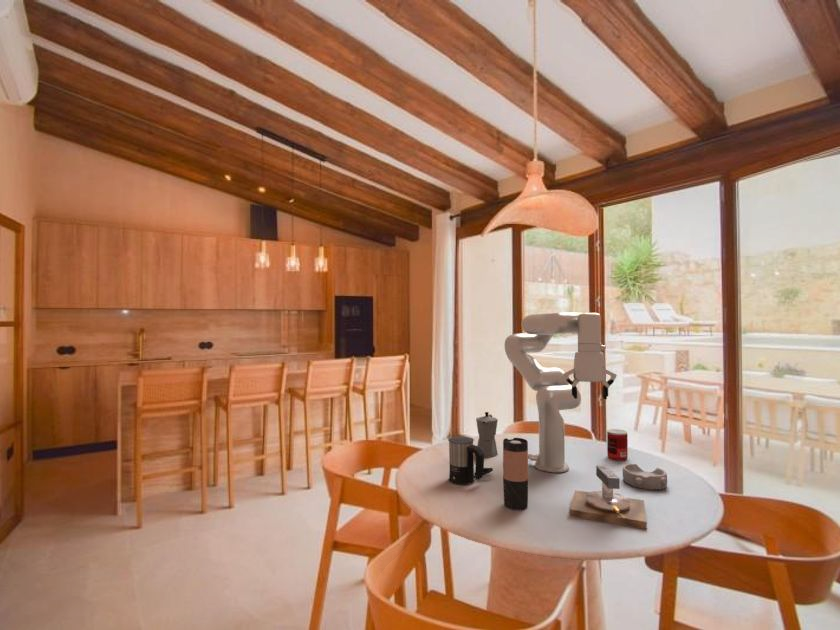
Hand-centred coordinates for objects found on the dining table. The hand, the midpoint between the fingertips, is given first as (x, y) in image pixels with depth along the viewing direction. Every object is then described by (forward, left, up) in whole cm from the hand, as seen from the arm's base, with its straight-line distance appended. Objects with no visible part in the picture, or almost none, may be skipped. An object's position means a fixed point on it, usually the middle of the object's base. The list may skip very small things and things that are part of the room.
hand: (589, 398), depth 153 cm
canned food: (+8, +39, -31) cm, 50 cm away
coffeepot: (-43, +23, -31) cm, 58 cm away
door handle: (+6, -20, -28) cm, 35 cm away
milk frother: (-40, -9, -31) cm, 51 cm away
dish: (+17, +11, -31) cm, 37 cm away
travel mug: (-20, -26, -31) cm, 45 cm away
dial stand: (+6, -19, -30) cm, 36 cm away
